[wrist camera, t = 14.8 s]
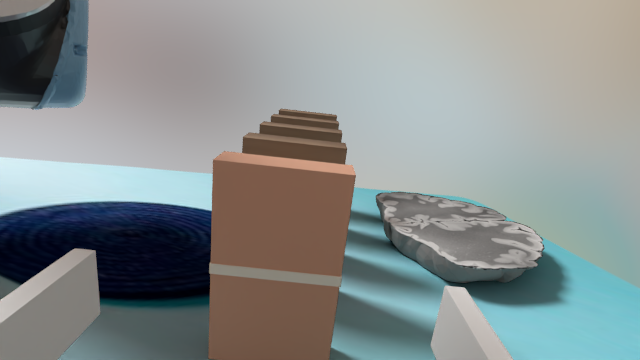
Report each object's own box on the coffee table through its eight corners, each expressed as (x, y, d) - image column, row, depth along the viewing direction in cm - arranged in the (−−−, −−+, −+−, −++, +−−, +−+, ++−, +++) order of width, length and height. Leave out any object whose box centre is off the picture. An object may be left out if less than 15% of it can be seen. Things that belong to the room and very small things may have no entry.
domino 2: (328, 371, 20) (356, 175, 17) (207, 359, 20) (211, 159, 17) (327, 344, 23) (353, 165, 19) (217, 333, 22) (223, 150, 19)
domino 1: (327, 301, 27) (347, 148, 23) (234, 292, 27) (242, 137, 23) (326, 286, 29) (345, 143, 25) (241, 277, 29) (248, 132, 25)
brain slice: (587, 289, 34) (598, 262, 33) (438, 306, 28) (445, 273, 28) (456, 211, 51) (461, 192, 51) (349, 212, 46) (352, 191, 45)
